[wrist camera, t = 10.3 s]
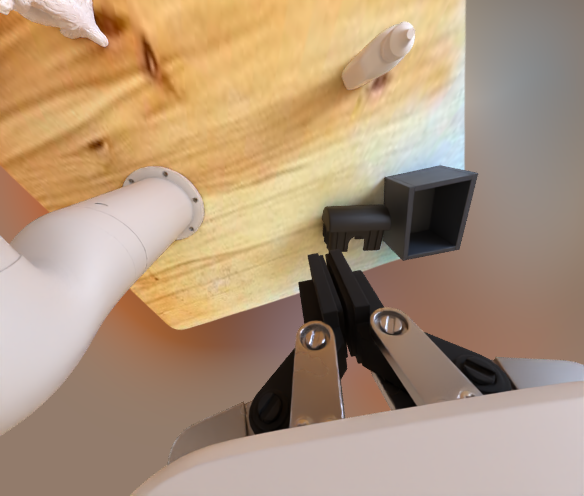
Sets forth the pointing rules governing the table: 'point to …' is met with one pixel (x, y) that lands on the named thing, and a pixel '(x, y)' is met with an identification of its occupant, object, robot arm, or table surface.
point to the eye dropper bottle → (379, 55)
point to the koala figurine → (60, 16)
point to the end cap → (355, 225)
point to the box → (427, 210)
